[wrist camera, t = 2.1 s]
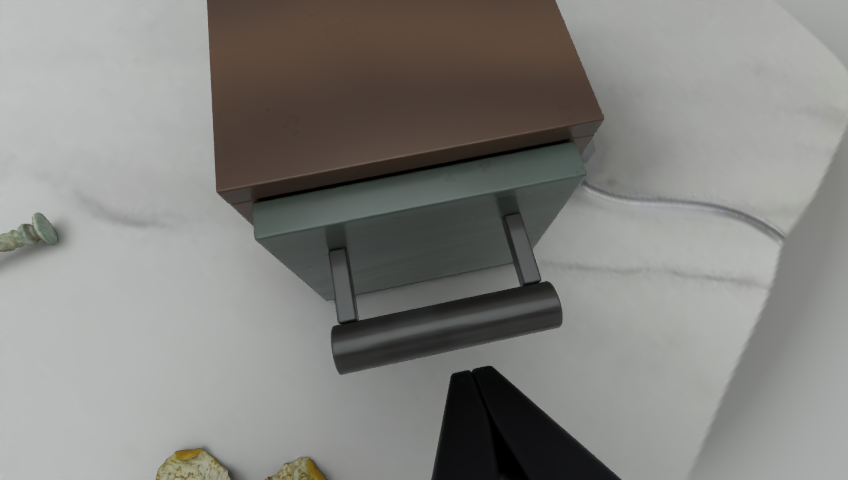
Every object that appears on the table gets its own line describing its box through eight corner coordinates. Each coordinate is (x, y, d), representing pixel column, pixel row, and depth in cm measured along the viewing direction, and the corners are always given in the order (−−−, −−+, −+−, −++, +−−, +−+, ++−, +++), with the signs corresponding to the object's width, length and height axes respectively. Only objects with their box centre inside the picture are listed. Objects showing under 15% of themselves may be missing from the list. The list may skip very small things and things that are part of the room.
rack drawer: (550, 340, 20) (637, 303, 11) (337, 386, 19) (264, 384, 11) (465, 60, 25) (483, -103, 17) (298, 90, 24) (230, -63, 16)
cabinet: (526, 241, 22) (605, 118, 12) (315, 284, 22) (215, 192, 12) (464, 40, 27) (485, -169, 17) (288, 72, 26) (200, -127, 16)
